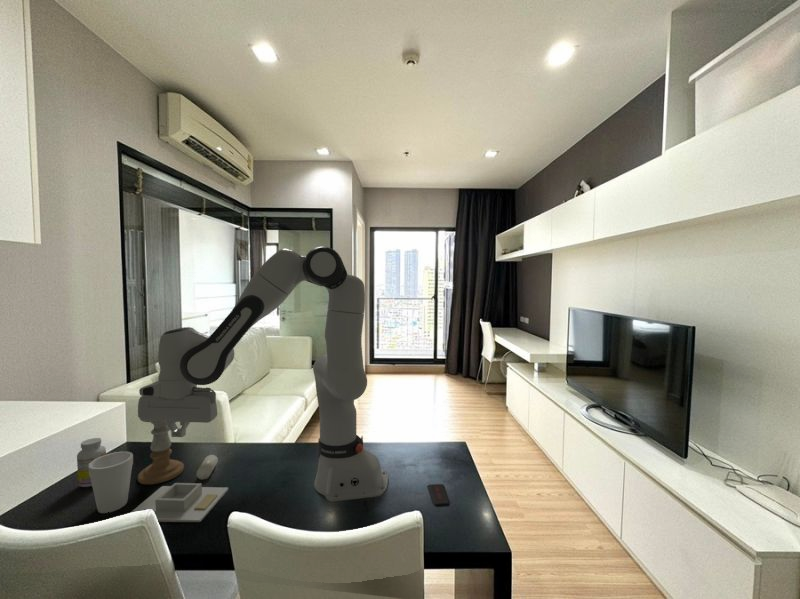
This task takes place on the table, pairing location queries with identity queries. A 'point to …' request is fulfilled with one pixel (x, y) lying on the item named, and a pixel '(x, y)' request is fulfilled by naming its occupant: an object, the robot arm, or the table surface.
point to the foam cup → (111, 480)
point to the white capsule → (207, 467)
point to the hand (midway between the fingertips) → (178, 436)
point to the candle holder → (160, 457)
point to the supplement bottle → (88, 459)
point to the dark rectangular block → (438, 494)
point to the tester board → (183, 502)
